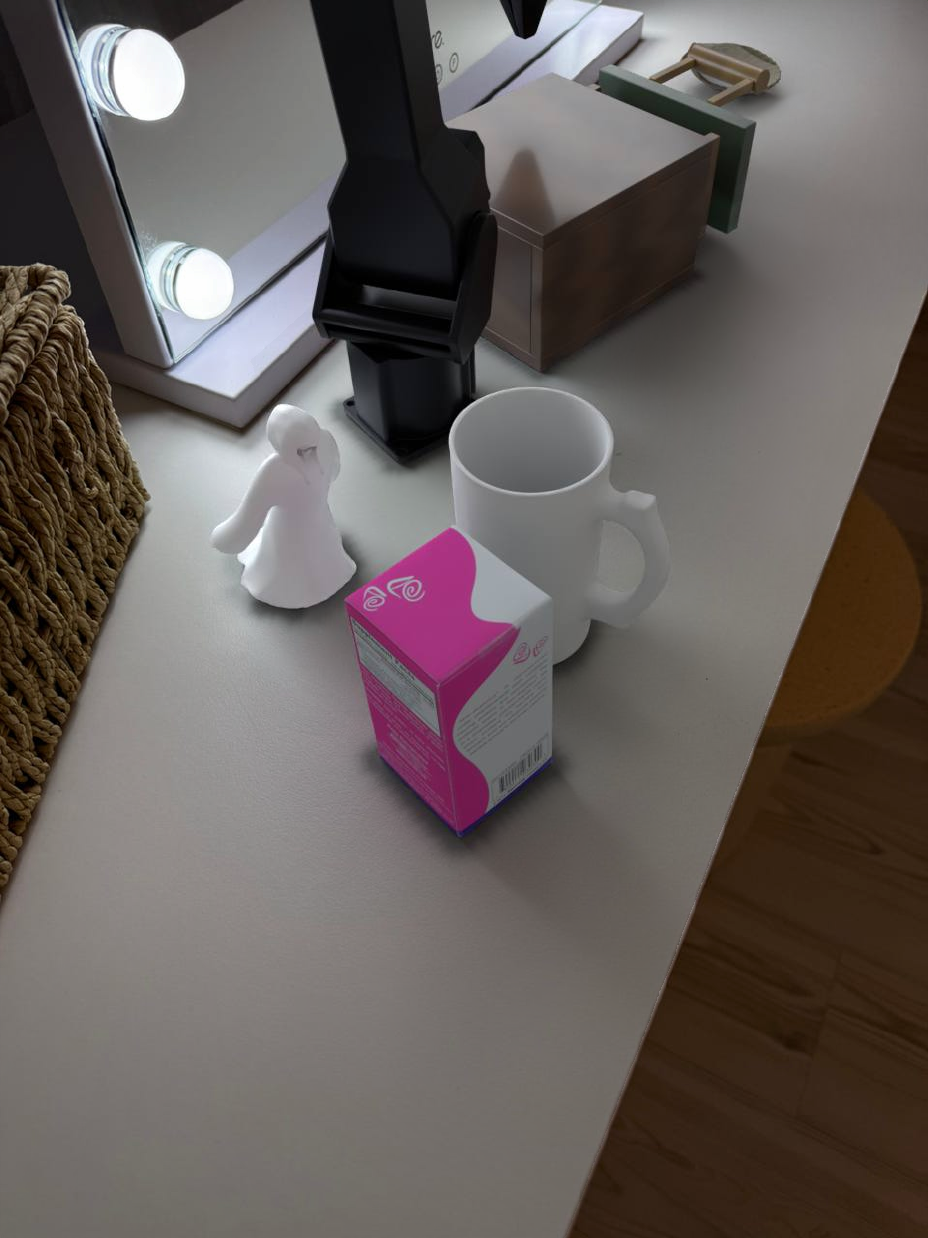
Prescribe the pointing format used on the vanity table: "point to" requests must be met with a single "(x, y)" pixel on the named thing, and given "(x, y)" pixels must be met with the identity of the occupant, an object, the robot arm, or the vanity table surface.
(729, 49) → the seashell
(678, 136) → the cabinet
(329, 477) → the figurine
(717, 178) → the drawer
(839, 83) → the vanity table surface
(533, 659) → the supplement box
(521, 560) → the mug
